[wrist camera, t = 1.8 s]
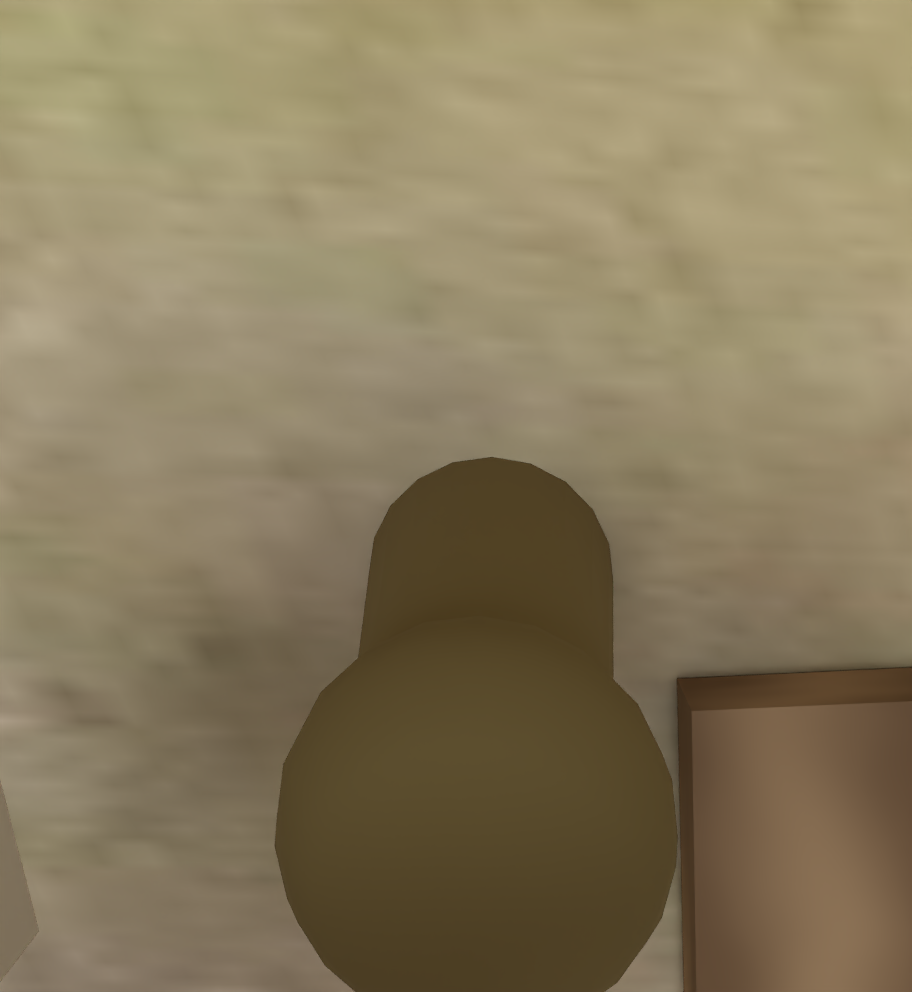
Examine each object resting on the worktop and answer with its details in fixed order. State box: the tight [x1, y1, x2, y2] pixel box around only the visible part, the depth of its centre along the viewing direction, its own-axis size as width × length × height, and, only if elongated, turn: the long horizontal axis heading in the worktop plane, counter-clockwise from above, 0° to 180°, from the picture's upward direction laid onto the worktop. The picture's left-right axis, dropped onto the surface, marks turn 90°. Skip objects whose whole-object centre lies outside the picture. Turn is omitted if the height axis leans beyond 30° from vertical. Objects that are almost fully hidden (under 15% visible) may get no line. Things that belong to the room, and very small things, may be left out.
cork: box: [275, 457, 678, 992], centre depth 14 cm, size 6×6×11 cm
